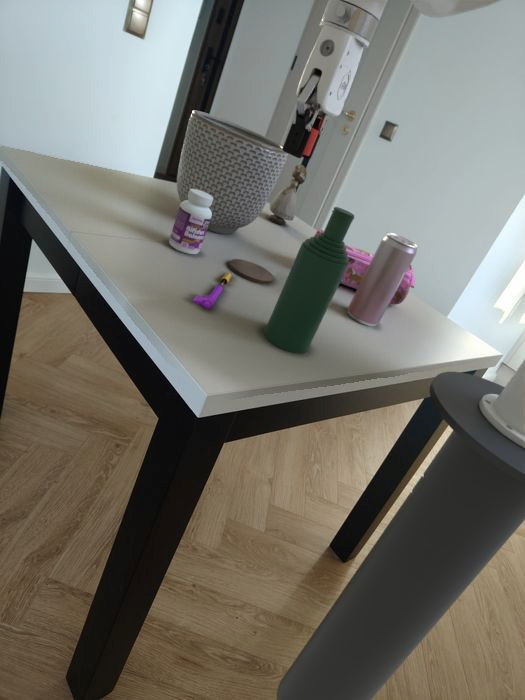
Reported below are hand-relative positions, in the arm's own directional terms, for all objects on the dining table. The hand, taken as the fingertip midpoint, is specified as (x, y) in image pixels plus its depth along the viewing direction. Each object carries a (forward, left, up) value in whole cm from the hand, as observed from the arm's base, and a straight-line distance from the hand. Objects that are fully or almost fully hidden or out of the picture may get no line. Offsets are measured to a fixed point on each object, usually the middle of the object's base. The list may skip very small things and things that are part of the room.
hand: (296, 154), depth 79 cm
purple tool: (0, +14, -21) cm, 25 cm away
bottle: (-14, +18, -21) cm, 31 cm away
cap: (0, 0, 0) cm, 0 cm away
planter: (+17, -15, -21) cm, 31 cm away
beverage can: (-20, -6, -21) cm, 30 cm away
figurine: (+13, -45, -21) cm, 51 cm away
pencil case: (-14, -20, -21) cm, 32 cm away
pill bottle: (+11, +5, -21) cm, 24 cm away
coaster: (0, 0, -21) cm, 21 cm away
